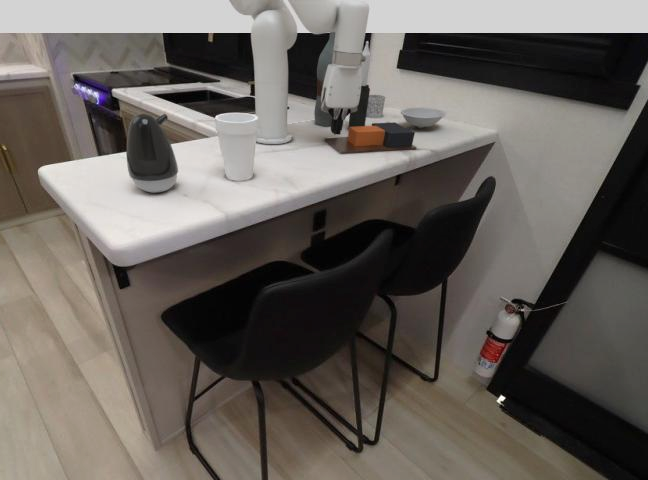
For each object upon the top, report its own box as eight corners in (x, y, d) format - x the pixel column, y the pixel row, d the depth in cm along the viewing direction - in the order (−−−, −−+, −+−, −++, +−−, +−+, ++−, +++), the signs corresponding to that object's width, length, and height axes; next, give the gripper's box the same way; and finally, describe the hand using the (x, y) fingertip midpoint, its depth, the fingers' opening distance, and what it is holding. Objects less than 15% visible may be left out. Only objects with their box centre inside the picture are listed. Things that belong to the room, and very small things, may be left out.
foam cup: (222, 184, 86) (217, 123, 78) (217, 170, 93) (212, 113, 85) (263, 181, 88) (262, 121, 80) (254, 168, 95) (253, 112, 87)
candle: (364, 132, 126) (377, 41, 111) (349, 131, 126) (360, 41, 111) (362, 128, 130) (374, 40, 115) (347, 127, 130) (357, 40, 115)
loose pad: (355, 146, 111) (357, 132, 108) (347, 140, 115) (349, 126, 113) (383, 144, 113) (385, 130, 110) (374, 139, 117) (376, 125, 115)
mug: (375, 113, 150) (378, 94, 146) (385, 116, 145) (388, 97, 141) (354, 114, 147) (356, 95, 142) (363, 118, 142) (365, 98, 138)
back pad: (387, 147, 111) (390, 133, 108) (370, 136, 120) (372, 123, 117) (411, 146, 112) (415, 132, 110) (392, 135, 121) (395, 122, 119)
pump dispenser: (190, 188, 84) (180, 113, 75) (149, 201, 78) (132, 122, 68) (164, 176, 89) (152, 105, 80) (123, 188, 83) (105, 112, 74)
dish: (425, 136, 124) (429, 119, 121) (388, 127, 132) (391, 112, 129) (450, 127, 134) (454, 112, 131) (414, 120, 142) (417, 105, 139)
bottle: (308, 122, 135) (313, 17, 116) (327, 119, 139) (335, 18, 121) (325, 128, 129) (334, 19, 110) (345, 125, 133) (356, 19, 115)
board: (341, 153, 107) (341, 151, 106) (324, 140, 117) (324, 138, 117) (416, 149, 112) (416, 147, 112) (393, 136, 123) (394, 134, 122)
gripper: (366, 59, 104) (353, 129, 115) (315, 56, 100) (307, 129, 112) (378, 63, 98) (364, 137, 110) (324, 60, 95) (315, 137, 106)
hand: (335, 133), depth 111 cm, fingers closed
